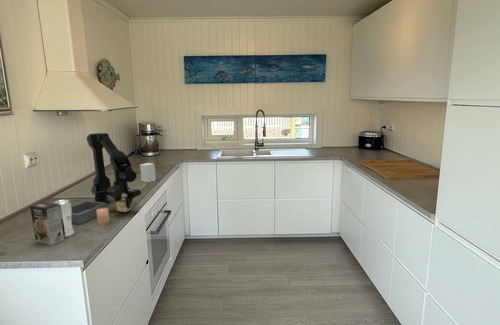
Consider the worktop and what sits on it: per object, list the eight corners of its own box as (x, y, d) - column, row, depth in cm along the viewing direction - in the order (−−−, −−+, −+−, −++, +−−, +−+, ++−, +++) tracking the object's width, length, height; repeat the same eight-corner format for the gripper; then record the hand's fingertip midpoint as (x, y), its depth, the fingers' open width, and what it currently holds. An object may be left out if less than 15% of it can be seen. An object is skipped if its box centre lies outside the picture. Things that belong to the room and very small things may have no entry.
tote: (87, 209, 170) (86, 200, 169) (108, 212, 165) (107, 203, 164) (58, 221, 154) (57, 211, 153) (80, 224, 149) (79, 214, 148)
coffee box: (35, 242, 131) (28, 205, 128) (49, 236, 137) (44, 200, 134) (50, 245, 128) (44, 208, 125) (64, 239, 134) (59, 203, 131)
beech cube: (123, 207, 168) (122, 198, 167) (131, 208, 166) (130, 199, 165) (117, 211, 163) (116, 201, 162) (125, 212, 161) (124, 202, 160)
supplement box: (156, 180, 227) (154, 163, 224) (147, 183, 221) (146, 165, 218) (149, 179, 231) (148, 162, 229) (141, 181, 225) (139, 164, 223)
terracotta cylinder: (103, 220, 154) (101, 207, 152) (111, 221, 152) (110, 208, 151) (95, 224, 149) (93, 210, 148) (103, 225, 148) (102, 211, 146)
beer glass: (55, 239, 134) (50, 205, 131) (58, 232, 141) (53, 200, 138) (74, 236, 137) (69, 203, 134) (76, 230, 143) (71, 198, 140)
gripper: (94, 181, 157) (98, 211, 160) (125, 184, 151) (128, 215, 154) (110, 176, 167) (113, 204, 170) (140, 178, 161) (143, 207, 164)
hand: (124, 207), depth 164 cm, fingers closed on beech cube, 5 cm apart
